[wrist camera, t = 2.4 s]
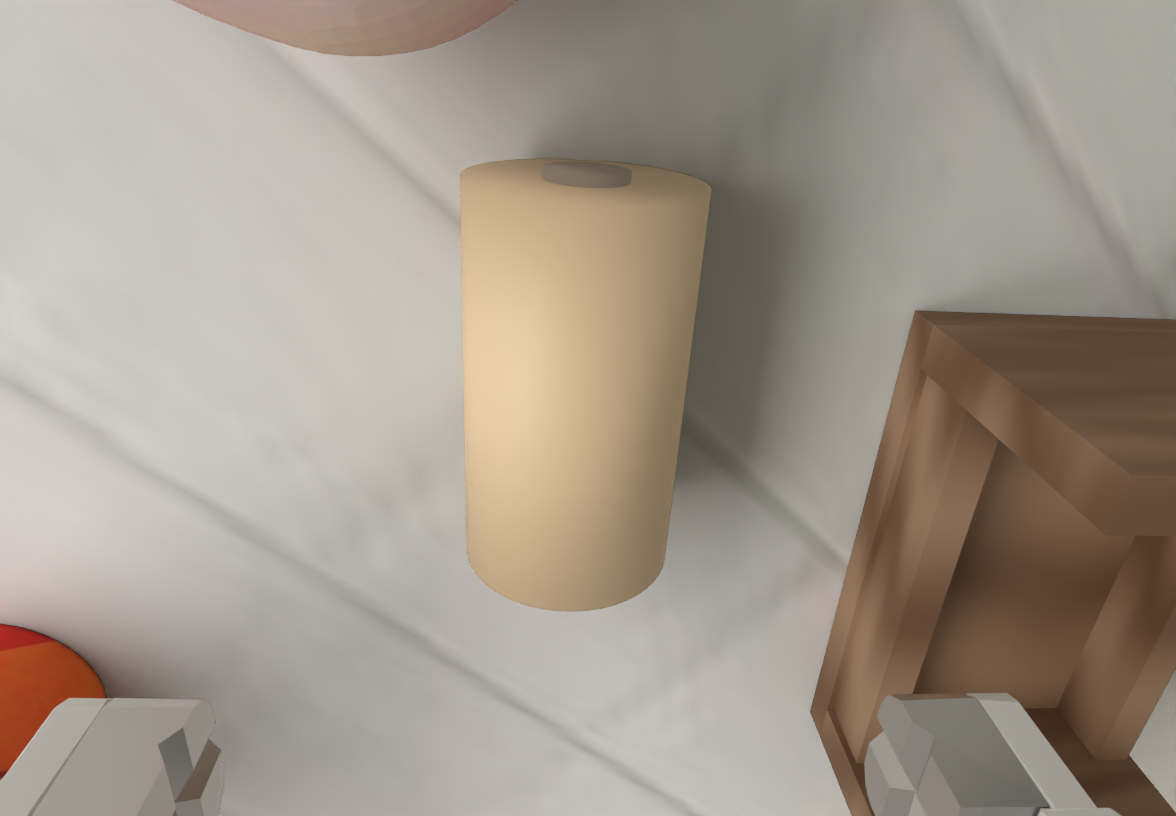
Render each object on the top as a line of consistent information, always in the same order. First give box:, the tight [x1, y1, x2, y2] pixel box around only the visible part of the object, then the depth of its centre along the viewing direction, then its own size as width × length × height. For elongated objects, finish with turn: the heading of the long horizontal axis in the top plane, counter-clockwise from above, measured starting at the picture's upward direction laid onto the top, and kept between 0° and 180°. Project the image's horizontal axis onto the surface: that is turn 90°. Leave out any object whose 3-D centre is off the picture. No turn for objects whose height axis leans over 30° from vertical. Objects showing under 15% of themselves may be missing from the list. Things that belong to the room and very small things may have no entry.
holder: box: [810, 311, 1176, 816], centre depth 20 cm, size 14×9×8 cm, turn 177°
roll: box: [460, 159, 711, 612], centre depth 17 cm, size 9×5×5 cm, turn 177°
